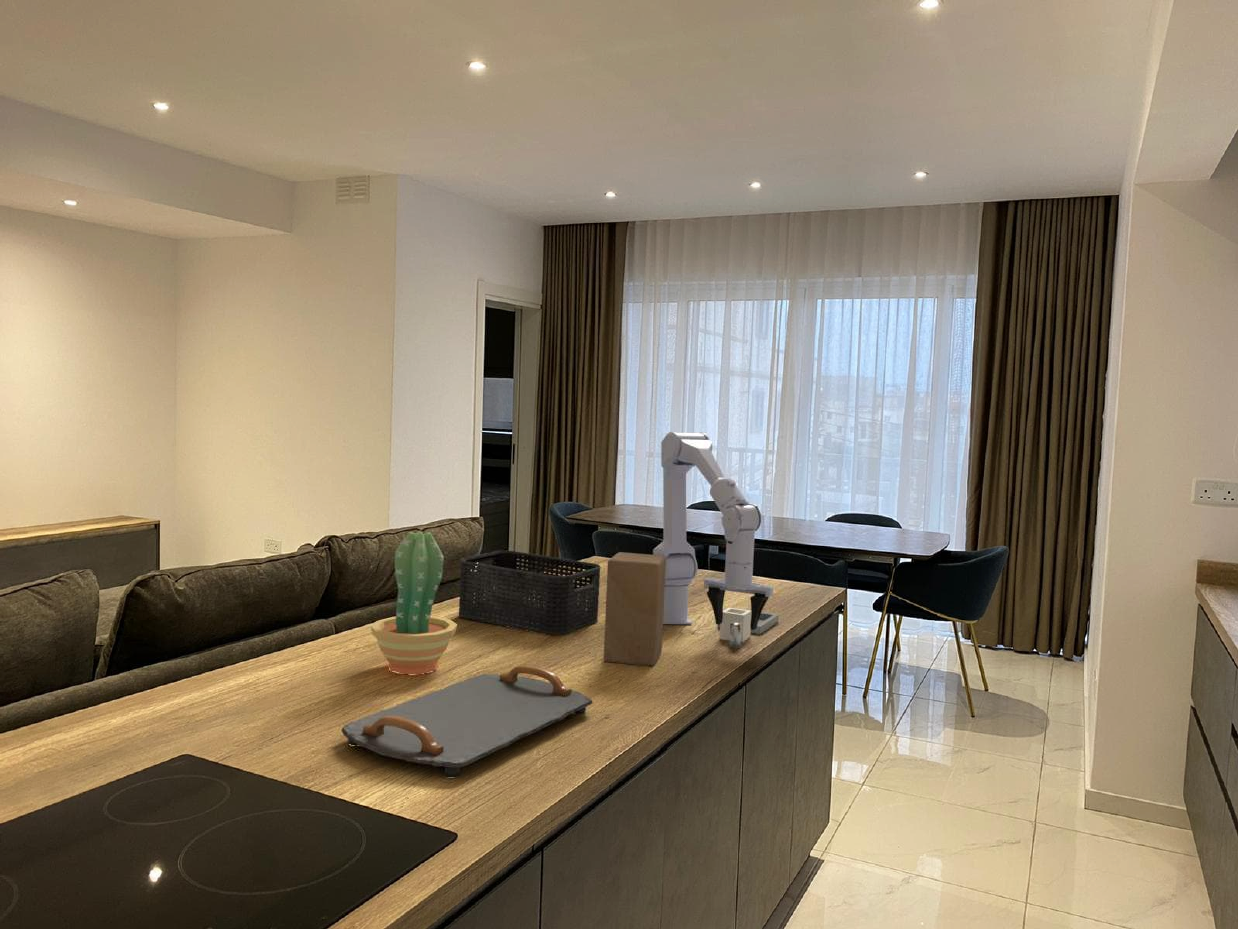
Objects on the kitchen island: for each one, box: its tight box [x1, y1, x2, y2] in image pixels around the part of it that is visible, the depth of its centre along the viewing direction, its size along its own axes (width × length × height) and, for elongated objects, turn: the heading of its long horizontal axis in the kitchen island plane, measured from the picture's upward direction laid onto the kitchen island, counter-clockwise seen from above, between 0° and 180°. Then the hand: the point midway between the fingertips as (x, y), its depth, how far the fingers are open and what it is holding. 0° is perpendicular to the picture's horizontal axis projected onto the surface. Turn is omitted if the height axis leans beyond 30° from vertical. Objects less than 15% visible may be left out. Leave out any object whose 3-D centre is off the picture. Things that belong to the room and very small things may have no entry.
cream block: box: [719, 607, 751, 644], centre depth 198 cm, size 5×5×6 cm
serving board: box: [341, 664, 594, 778], centre depth 138 cm, size 39×23×6 cm, turn 149°
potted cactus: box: [370, 530, 458, 674], centre depth 165 cm, size 15×15×25 cm
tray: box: [717, 608, 779, 635], centre depth 210 cm, size 14×10×2 cm
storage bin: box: [458, 550, 601, 636], centre depth 207 cm, size 29×19×13 cm
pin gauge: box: [728, 622, 742, 649], centre depth 191 cm, size 2×2×5 cm
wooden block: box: [603, 551, 666, 667], centre depth 179 cm, size 10×10×20 cm
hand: (736, 626), depth 190 cm, fingers open, 7 cm apart
